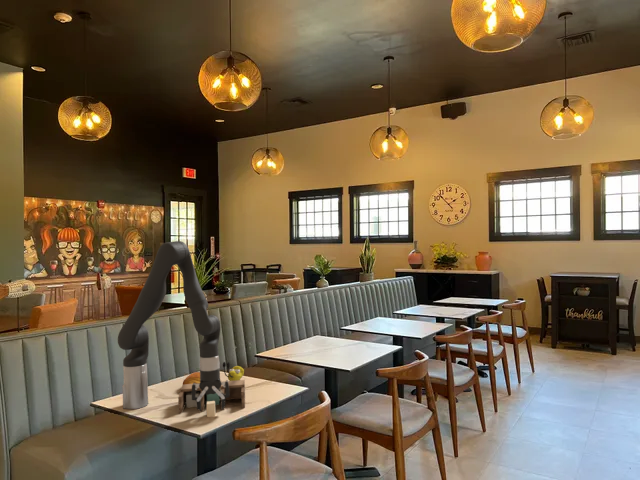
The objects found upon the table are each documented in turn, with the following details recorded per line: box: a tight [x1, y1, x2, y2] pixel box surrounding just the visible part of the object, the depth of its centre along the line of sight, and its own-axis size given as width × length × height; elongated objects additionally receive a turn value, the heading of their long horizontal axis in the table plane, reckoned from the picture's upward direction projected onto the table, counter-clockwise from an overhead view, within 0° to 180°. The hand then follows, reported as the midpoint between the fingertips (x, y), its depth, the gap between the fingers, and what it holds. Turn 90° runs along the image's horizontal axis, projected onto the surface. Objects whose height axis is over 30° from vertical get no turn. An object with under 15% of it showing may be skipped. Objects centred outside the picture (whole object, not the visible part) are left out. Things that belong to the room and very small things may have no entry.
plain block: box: [186, 391, 200, 408], centre depth 194 cm, size 5×5×5 cm
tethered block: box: [206, 393, 221, 418], centre depth 189 cm, size 5×18×5 cm, turn 9°
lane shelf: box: [177, 379, 246, 414], centre depth 193 cm, size 26×13×8 cm, turn 99°
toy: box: [222, 361, 245, 381], centre depth 211 cm, size 6×14×15 cm
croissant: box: [182, 371, 200, 385], centre depth 217 cm, size 14×16×8 cm
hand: (211, 409), depth 181 cm, fingers open, 8 cm apart
